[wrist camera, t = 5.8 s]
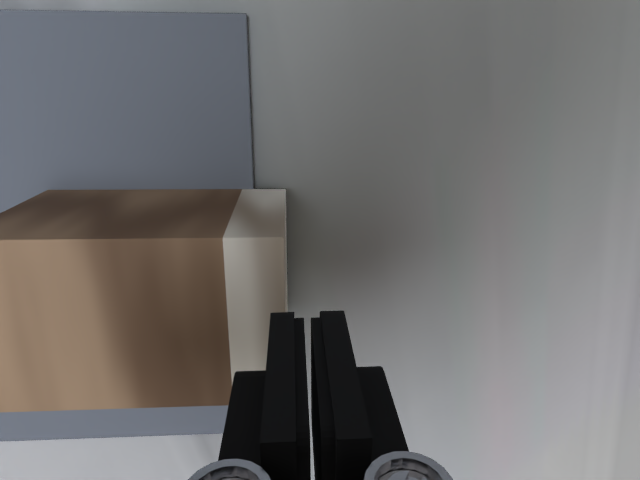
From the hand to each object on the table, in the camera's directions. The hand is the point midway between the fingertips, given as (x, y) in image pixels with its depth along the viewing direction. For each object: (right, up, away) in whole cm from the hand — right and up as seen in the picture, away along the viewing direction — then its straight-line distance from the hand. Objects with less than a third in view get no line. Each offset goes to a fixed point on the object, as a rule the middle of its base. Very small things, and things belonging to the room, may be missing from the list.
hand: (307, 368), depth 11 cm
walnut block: (-1, +2, +4) cm, 4 cm away
